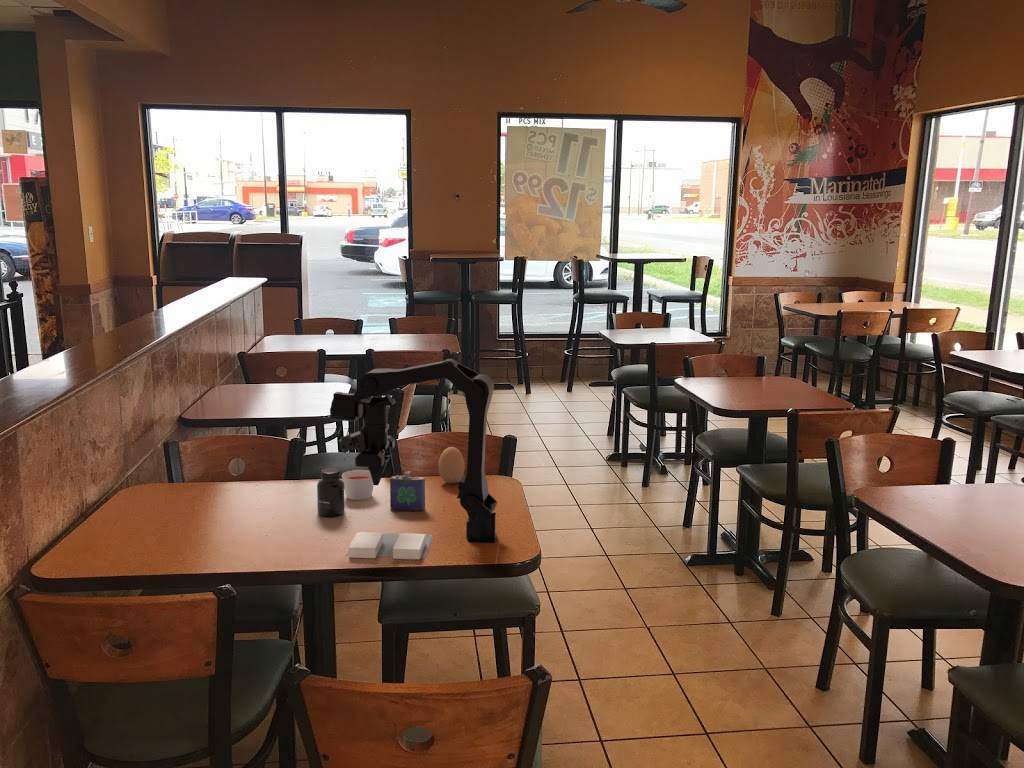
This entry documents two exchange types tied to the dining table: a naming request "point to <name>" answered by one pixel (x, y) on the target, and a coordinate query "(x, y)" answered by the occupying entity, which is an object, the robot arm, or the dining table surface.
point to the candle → (358, 484)
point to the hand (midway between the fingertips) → (376, 484)
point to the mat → (390, 541)
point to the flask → (407, 493)
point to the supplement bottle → (330, 494)
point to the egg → (451, 465)
